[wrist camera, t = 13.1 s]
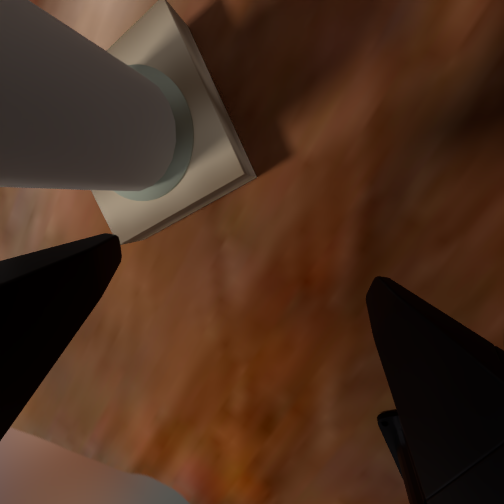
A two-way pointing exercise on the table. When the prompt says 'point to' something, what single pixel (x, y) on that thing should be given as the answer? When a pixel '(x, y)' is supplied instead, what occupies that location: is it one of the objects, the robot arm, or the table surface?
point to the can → (75, 110)
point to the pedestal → (187, 130)
